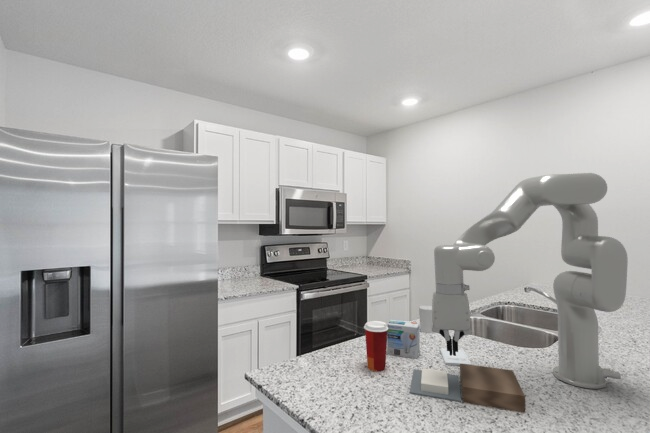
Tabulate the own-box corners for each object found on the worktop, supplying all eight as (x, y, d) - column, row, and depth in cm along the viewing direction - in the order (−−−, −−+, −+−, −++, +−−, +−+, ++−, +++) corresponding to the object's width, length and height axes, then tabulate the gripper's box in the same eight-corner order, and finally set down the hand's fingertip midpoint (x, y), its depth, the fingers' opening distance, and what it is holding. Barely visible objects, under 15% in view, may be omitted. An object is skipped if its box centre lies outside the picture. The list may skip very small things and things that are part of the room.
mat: (458, 376, 99) (458, 375, 99) (461, 402, 85) (461, 400, 85) (413, 370, 104) (413, 369, 104) (409, 393, 90) (409, 392, 90)
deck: (512, 384, 95) (512, 370, 95) (525, 412, 80) (525, 396, 80) (460, 376, 99) (459, 363, 99) (463, 402, 85) (463, 386, 85)
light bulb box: (386, 354, 116) (386, 323, 117) (390, 348, 123) (390, 318, 123) (418, 359, 112) (417, 327, 113) (420, 352, 119) (419, 321, 119)
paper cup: (391, 365, 107) (390, 322, 108) (385, 375, 100) (384, 328, 101) (368, 361, 111) (367, 319, 111) (360, 370, 104) (360, 325, 104)
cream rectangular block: (422, 368, 100) (422, 374, 100) (421, 383, 90) (421, 390, 90) (446, 371, 98) (446, 378, 98) (448, 387, 88) (448, 394, 88)
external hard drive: (463, 354, 118) (472, 369, 106) (439, 352, 120) (445, 367, 107) (463, 349, 118) (472, 363, 106) (439, 347, 120) (445, 361, 107)
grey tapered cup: (437, 333, 138) (437, 309, 138) (421, 333, 138) (421, 309, 138) (432, 328, 145) (432, 305, 145) (417, 328, 145) (417, 305, 145)
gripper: (477, 287, 95) (480, 351, 94) (422, 285, 100) (425, 346, 99) (479, 292, 88) (483, 362, 87) (421, 290, 93) (424, 356, 92)
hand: (452, 353), depth 93 cm, fingers closed
